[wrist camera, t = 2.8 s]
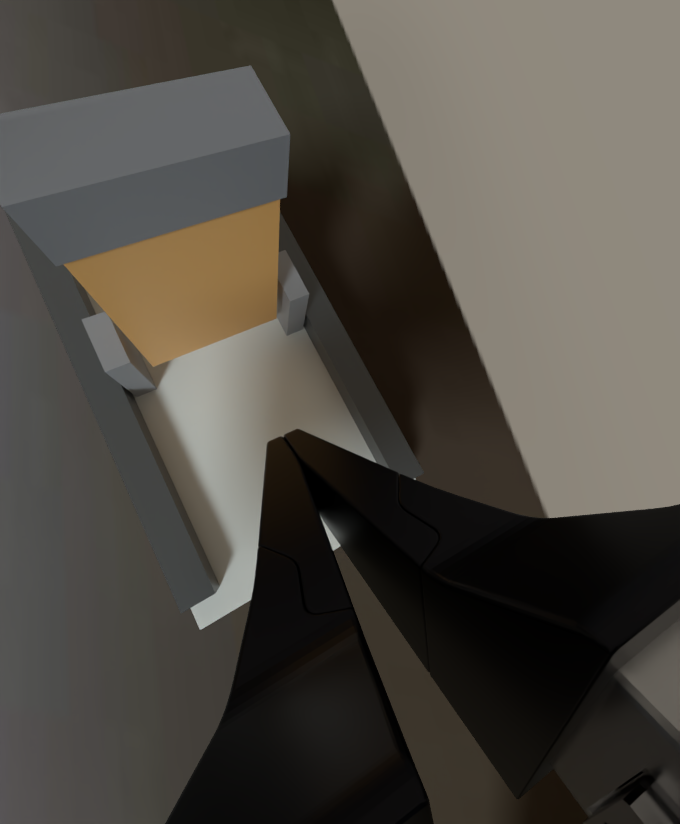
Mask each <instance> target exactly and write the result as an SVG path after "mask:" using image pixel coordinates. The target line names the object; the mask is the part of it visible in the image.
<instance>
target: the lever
mask: <svg viewBox="0 0 680 824" xmlns="http://www.w3.org/2000/svg"><path fill="white" fill-rule="evenodd" d="M289 147H290V133H289V131H288V130H287V128H286V126H285V124H284V123H283V121H282V119H281V117H280V116H279V114H278V112H277V110H276V109H275V107H274V105H273V103H272V102H271V100H270V98H269V96H268V95H267V93H266V91H265V89H264V88H263V86H262V84H261V82H260V81H259V79H258V77H257V75H256V74H255V72H254V70H253V69H252V67H251V66H246V67H241V68H235V69H230V70H225V71H220V72H215V73H209V74H204V75H199V76H194V77H189V78H183V79H178V80H173V81H168V82H163V83H157V84H152V85H147V86H142V87H137V88H131V89H126V90H121V91H116V92H111V93H105V94H100V95H95V96H90V97H85V98H79V99H74V100H69V101H64V102H59V103H53V104H48V105H43V106H38V107H33V108H27V109H22V110H17V111H12V112H7V113H1V114H0V205H1V207H2V208H3V209H4V210H5V211H6V212H7V213H8V215H9V216H10V217H11V218H12V219H13V220H14V221H15V222H16V223H17V224H18V225H19V227H20V228H21V229H22V230H23V231H24V232H25V233H26V234H27V235H28V236H29V237H30V239H31V240H32V241H33V242H34V243H35V244H36V245H37V246H38V247H39V248H40V250H41V251H42V252H43V253H44V254H45V255H46V256H47V257H48V258H49V259H50V260H51V262H52V263H53V264H54V265H55V266H59V265H64V266H65V267H66V268H67V269H68V270H69V271H70V273H71V274H72V275H73V276H74V277H75V278H76V279H77V281H78V282H79V283H80V284H81V285H82V286H83V287H84V289H85V290H86V291H87V292H88V293H89V294H90V295H91V297H92V298H93V299H94V300H95V301H96V302H97V303H98V304H99V306H100V307H101V308H102V309H103V310H104V311H105V312H106V314H107V315H108V316H109V317H110V318H111V319H112V320H113V322H114V323H115V324H116V325H117V326H118V327H119V328H120V330H121V331H122V332H123V333H124V334H125V335H126V336H127V338H128V339H129V340H130V341H131V342H132V343H133V344H134V346H135V347H136V348H137V349H138V350H139V351H140V352H141V354H142V355H143V356H144V357H145V358H146V359H147V360H148V362H149V363H150V364H151V365H152V366H153V367H154V366H157V365H159V364H162V363H164V362H167V361H170V360H172V359H175V358H177V357H180V356H182V355H185V354H187V353H190V352H193V351H195V350H198V349H200V348H203V347H205V346H208V345H210V344H213V343H215V342H218V341H221V340H223V339H226V338H228V337H231V336H233V335H236V334H238V333H241V332H244V331H246V330H249V329H251V328H254V327H256V326H259V325H261V324H264V323H266V322H269V321H272V320H274V319H277V286H278V254H279V221H280V199H282V198H286V197H287V186H288V166H289Z"/></svg>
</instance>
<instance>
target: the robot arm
mask: <svg viewBox="0 0 680 824" xmlns="http://www.w3.org/2000/svg"><path fill="white" fill-rule="evenodd" d="M320 516H321V517H320ZM321 518H322V519H323V521H324V522H325V524H326V525H327V527H328V528H329V530H330V531H331V533H332V534H333V535H334V537H335V538H336V540H337V541H338V543H339V544H340V546H341V547H342V548H343V550H344V551H345V553H346V554H347V556H348V557H349V558H350V560H351V561H352V563H353V564H354V566H355V567H356V569H357V570H358V571H359V573H360V574H361V576H362V577H363V579H364V580H365V581H366V583H367V584H368V586H369V587H370V589H371V590H372V592H373V593H374V594H375V596H376V597H377V599H378V600H379V602H380V603H381V605H382V606H383V607H384V609H385V610H386V612H387V613H388V615H389V616H390V617H391V619H392V620H393V622H394V623H395V625H396V626H397V628H398V629H399V630H400V632H401V633H402V635H403V636H404V638H405V639H406V641H407V642H408V643H409V645H410V646H411V648H412V649H413V651H414V652H415V653H416V655H417V656H418V658H419V659H420V661H421V662H422V664H423V665H424V666H425V668H426V669H427V671H428V672H430V675H431V677H432V678H433V680H434V681H435V682H436V684H437V685H438V687H439V688H440V690H441V691H442V692H443V694H444V695H445V697H446V698H447V700H448V701H449V703H450V704H451V705H452V707H453V708H454V710H455V711H456V713H457V714H458V715H459V717H460V718H461V720H462V721H463V723H464V724H465V726H466V727H467V728H468V730H469V731H470V733H471V734H472V736H473V737H474V738H475V740H476V741H477V743H478V744H479V746H480V747H481V749H482V750H483V751H484V753H485V754H486V756H487V757H488V759H489V760H490V761H491V763H492V764H493V766H494V767H495V769H496V770H497V772H498V773H499V774H500V776H501V777H502V779H503V780H504V782H505V783H506V784H507V786H508V787H509V789H510V790H511V792H512V793H513V794H514V796H515V797H516V799H519V798H521V797H522V796H523V795H524V794H525V793H526V792H527V791H529V790H530V789H531V788H532V787H533V786H534V785H535V784H537V783H538V782H539V781H540V780H541V779H542V778H543V777H545V776H546V775H547V774H548V773H549V772H550V771H551V770H553V769H554V770H555V772H556V773H557V774H558V776H559V777H560V779H561V780H562V781H563V783H564V784H565V786H566V787H567V788H568V790H569V791H570V792H571V794H572V795H573V797H574V798H575V799H576V801H577V802H578V804H579V805H580V806H581V808H582V809H583V810H584V812H585V813H586V815H587V816H588V818H587V819H586V820H585V821H584V822H583V823H582V824H680V504H679V505H674V506H670V507H663V508H655V509H646V510H635V511H624V512H612V513H602V514H592V515H580V516H570V517H559V518H535V517H528V516H523V515H519V514H515V513H511V512H508V511H505V510H502V509H499V508H495V507H492V506H489V505H486V504H483V503H480V502H477V501H473V500H470V499H467V498H464V497H461V496H458V495H455V494H452V493H449V492H446V491H443V490H440V489H437V488H434V487H432V486H429V485H427V484H424V483H422V482H419V481H417V480H414V479H412V478H410V477H408V476H405V475H403V474H400V475H399V473H398V472H396V471H394V470H391V469H389V468H387V467H384V466H382V465H380V464H378V463H375V462H373V461H371V460H369V459H366V458H364V457H362V456H359V455H357V454H355V453H353V452H350V451H348V450H346V449H344V448H341V447H339V446H337V445H334V444H332V443H330V442H328V441H325V440H323V439H321V438H318V437H316V436H314V435H312V434H309V433H307V432H305V431H303V430H300V429H295V430H293V431H290V432H288V433H286V434H284V437H282V436H279V437H277V438H275V439H272V440H270V441H268V442H267V446H266V458H265V470H264V481H263V493H262V505H261V517H260V529H259V540H258V547H259V548H258V550H257V562H256V570H255V579H254V586H253V592H252V597H251V602H250V607H249V612H248V617H247V621H246V626H245V630H244V635H243V639H242V644H241V648H240V653H239V657H238V662H237V666H236V671H235V675H234V680H233V684H232V688H231V692H230V695H229V699H228V702H227V706H226V708H225V711H224V714H223V717H222V719H221V721H220V723H219V726H218V728H217V730H216V732H215V734H214V736H213V738H212V739H211V741H210V743H209V745H208V747H207V749H206V750H205V752H204V754H203V756H202V758H201V759H200V761H199V763H198V765H197V767H196V769H195V770H194V772H193V774H192V776H191V778H190V779H189V781H188V783H187V785H186V787H185V789H184V790H183V792H182V794H181V796H180V798H179V799H178V801H177V803H176V805H175V807H174V809H173V810H172V812H171V814H170V816H169V818H168V819H167V821H166V823H165V824H434V823H433V818H432V813H431V808H430V803H429V799H428V796H427V794H426V791H425V789H424V786H423V784H422V781H421V779H420V777H419V774H418V772H417V769H416V767H415V764H414V762H413V759H412V757H411V754H410V752H409V749H408V747H407V744H406V741H405V739H404V736H403V734H402V731H401V729H400V726H399V724H398V721H397V718H396V716H395V713H394V711H393V708H392V706H391V703H390V701H389V698H388V696H387V693H386V690H385V688H384V685H383V683H382V680H381V678H380V675H379V673H378V670H377V668H376V665H375V662H374V660H373V657H372V655H371V652H370V650H369V647H368V645H367V642H366V639H365V637H364V634H363V631H362V629H361V626H360V623H359V621H358V618H357V615H356V612H355V610H354V607H353V604H352V602H351V599H350V596H349V593H348V591H347V588H346V585H345V582H344V580H343V577H342V574H341V571H340V569H339V566H338V563H337V560H336V558H335V555H334V552H333V550H332V547H331V544H330V541H329V539H328V536H327V533H326V530H325V528H324V525H323V522H322V519H321Z"/></svg>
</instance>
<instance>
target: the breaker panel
mask: <svg viewBox="0 0 680 824" xmlns="http://www.w3.org/2000/svg"><path fill="white" fill-rule="evenodd" d="M5 212H6V211H5ZM6 215H7V217H8V219H9V222H10V224H11V226H12V228H13V231H14V233H15V235H16V238H17V240H18V242H19V244H20V247H21V249H22V251H23V254H24V256H25V258H26V260H27V263H28V265H29V267H30V270H31V272H32V274H33V276H34V279H35V281H36V283H37V286H38V288H39V290H40V292H41V295H42V297H43V299H44V302H45V304H46V306H47V308H48V311H49V313H50V315H51V318H52V320H53V322H54V324H55V327H56V329H57V331H58V334H59V336H60V338H61V340H62V343H63V345H64V347H65V350H66V352H67V354H68V356H69V359H70V361H71V363H72V366H73V368H74V370H75V372H76V375H77V377H78V379H79V382H80V384H81V386H82V388H83V391H84V393H85V395H86V398H87V400H88V402H89V404H90V407H91V409H92V411H93V414H94V416H95V418H96V420H97V423H98V425H99V427H100V430H101V432H102V434H103V436H104V439H105V441H106V443H107V446H108V448H109V450H110V452H111V455H112V457H113V459H114V462H115V464H116V466H117V468H118V471H119V473H120V475H121V478H122V480H123V482H124V484H125V487H126V489H127V491H128V494H129V496H130V498H131V500H132V503H133V505H134V507H135V510H136V512H137V514H138V516H139V519H140V521H141V523H142V526H143V528H144V530H145V532H146V535H147V537H148V539H149V542H150V544H151V546H152V548H153V551H154V553H155V555H156V558H157V560H158V562H159V564H160V567H161V569H162V571H163V574H164V576H165V578H166V580H167V583H168V585H169V587H170V590H171V592H172V594H173V596H174V599H175V601H176V603H177V606H178V608H179V610H180V612H181V613H183V612H184V611H186V610H188V609H189V608H191V610H192V613H193V615H194V617H195V619H196V622H197V624H198V626H199V629H200V630H201V629H203V628H204V627H206V626H208V625H209V624H211V623H213V622H214V621H216V620H218V619H219V618H221V617H223V616H224V615H226V614H228V613H229V612H231V611H233V610H234V609H236V608H238V607H239V606H241V605H243V604H245V603H246V602H248V601H250V600H251V597H252V592H253V586H254V579H255V570H256V562H257V550H258V548H259V547H258V540H259V529H260V517H261V505H262V493H263V481H264V470H265V458H266V446H267V442H268V441H270V440H272V439H275V438H277V437H279V436H282V437H284V434H286V433H288V432H290V431H293V430H295V429H300V430H303V431H305V432H307V433H309V434H312V435H314V436H316V437H318V438H321V439H323V440H325V441H328V442H330V443H332V444H334V445H337V446H339V447H341V448H344V449H346V450H348V451H350V452H353V453H355V454H357V455H359V456H362V457H364V458H366V459H369V460H371V461H373V462H375V463H378V464H380V465H382V466H384V467H387V468H389V469H391V470H394V471H396V472H398V473H399V475H400V474H403V475H405V476H408V477H410V478H412V479H414V480H416V479H415V478H416V477H418V476H420V475H421V474H423V473H424V472H423V470H422V468H421V466H420V465H419V463H418V461H417V459H416V457H415V456H414V454H413V452H412V450H411V448H410V446H409V445H408V443H407V441H406V439H405V437H404V436H403V434H402V432H401V430H400V428H399V427H398V425H397V423H396V421H395V419H394V417H393V416H392V414H391V412H390V410H389V408H388V407H387V405H386V403H385V401H384V399H383V397H382V396H381V394H380V392H379V390H378V388H377V387H376V385H375V383H374V381H373V379H372V378H371V376H370V374H369V372H368V370H367V368H366V367H365V365H364V363H363V361H362V359H361V358H360V356H359V354H358V352H357V350H356V348H355V347H354V345H353V343H352V341H351V339H350V338H349V336H348V334H347V332H346V330H345V328H344V327H343V325H342V323H341V321H340V319H339V318H338V316H337V314H336V312H335V310H334V309H333V307H332V305H331V303H330V301H329V299H328V298H327V296H326V294H325V292H324V290H323V289H322V287H321V285H320V283H319V281H318V279H317V278H316V276H315V274H314V272H313V270H312V269H311V267H310V265H309V263H308V261H307V260H306V258H305V256H304V254H303V252H302V250H301V249H300V247H299V245H298V243H297V241H296V240H295V238H294V236H293V234H292V232H291V230H290V229H289V227H288V225H287V223H286V221H285V220H284V218H283V216H282V214H281V212H280V221H279V254H278V286H277V319H274V320H272V321H269V322H266V323H264V324H261V325H259V326H256V327H254V328H251V329H249V330H246V331H244V332H241V333H238V334H236V335H233V336H231V337H228V338H226V339H223V340H221V341H218V342H215V343H213V344H210V345H208V346H205V347H203V348H200V349H198V350H195V351H193V352H190V353H187V354H185V355H182V356H180V357H177V358H175V359H172V360H170V361H167V362H164V363H162V364H159V365H157V366H154V367H153V366H152V365H151V364H150V363H149V362H148V360H147V359H146V358H145V357H144V356H143V355H142V354H141V352H140V351H139V350H138V349H137V348H136V347H135V346H134V344H133V343H132V342H131V341H130V340H129V339H128V338H127V336H126V335H125V334H124V333H123V332H122V331H121V330H120V328H119V327H118V326H117V325H116V324H115V323H114V322H113V320H112V319H111V318H110V317H109V316H108V315H107V314H106V312H105V311H104V310H103V309H102V308H101V307H100V306H99V304H98V303H97V302H96V301H95V300H94V299H93V298H92V297H91V295H90V294H89V293H88V292H87V291H86V290H85V289H84V287H83V286H82V285H81V284H80V283H79V282H78V281H77V279H76V278H75V277H74V276H73V275H72V274H71V273H70V271H69V270H68V269H67V268H66V267H65V266H64V265H59V266H55V265H54V264H53V263H52V262H51V260H50V259H49V258H48V257H47V256H46V255H45V254H44V253H43V252H42V251H41V250H40V248H39V247H38V246H37V245H36V244H35V243H34V242H33V241H32V240H31V239H30V237H29V236H28V235H27V234H26V233H25V232H24V231H23V230H22V229H21V228H20V227H19V225H18V224H17V223H16V222H15V221H14V220H13V219H12V218H11V217H10V216H9V215H8V213H7V212H6ZM320 517H321V516H320ZM321 519H322V518H321ZM322 522H323V525H324V528H325V530H326V533H327V536H328V539H329V541H330V544H331V547H332V550H335V549H336V548H338V547H340V544H339V543H338V541H337V540H336V538H335V537H334V535H333V534H332V533H331V531H330V530H329V528H328V527H327V525H326V524H325V522H324V521H323V519H322Z"/></svg>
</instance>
